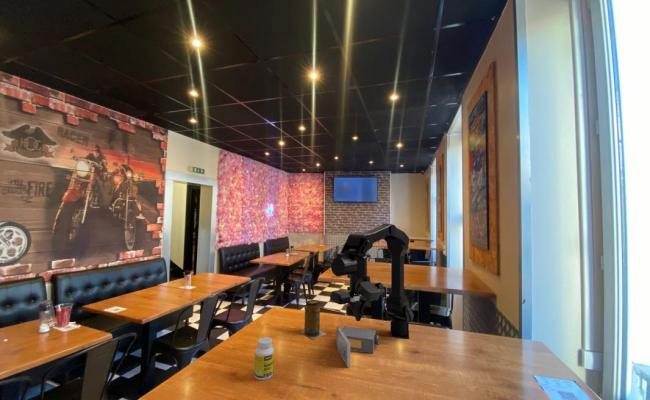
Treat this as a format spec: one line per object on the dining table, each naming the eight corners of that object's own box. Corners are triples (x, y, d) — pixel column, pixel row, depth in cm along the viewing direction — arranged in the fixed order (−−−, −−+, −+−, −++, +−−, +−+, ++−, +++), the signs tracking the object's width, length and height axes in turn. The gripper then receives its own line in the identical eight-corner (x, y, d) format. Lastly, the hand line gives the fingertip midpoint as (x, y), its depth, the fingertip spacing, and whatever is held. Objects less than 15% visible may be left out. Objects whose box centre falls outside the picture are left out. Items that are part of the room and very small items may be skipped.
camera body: (379, 343, 97) (379, 323, 97) (376, 355, 88) (376, 333, 88) (342, 338, 101) (342, 318, 101) (336, 349, 92) (336, 327, 92)
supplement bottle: (263, 383, 73) (264, 346, 73) (250, 376, 75) (251, 341, 76) (277, 373, 77) (278, 338, 78) (263, 367, 80) (264, 334, 81)
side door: (350, 366, 81) (350, 342, 81) (345, 367, 80) (345, 343, 81) (340, 349, 92) (340, 328, 92) (335, 349, 91) (335, 328, 92)
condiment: (313, 327, 110) (314, 298, 111) (327, 334, 104) (327, 303, 105) (299, 332, 106) (299, 301, 107) (312, 339, 99) (312, 306, 100)
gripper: (350, 280, 76) (349, 336, 75) (396, 274, 86) (397, 323, 84) (329, 273, 86) (328, 323, 84) (373, 268, 95) (373, 313, 94)
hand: (358, 320), depth 87 cm, fingers closed
